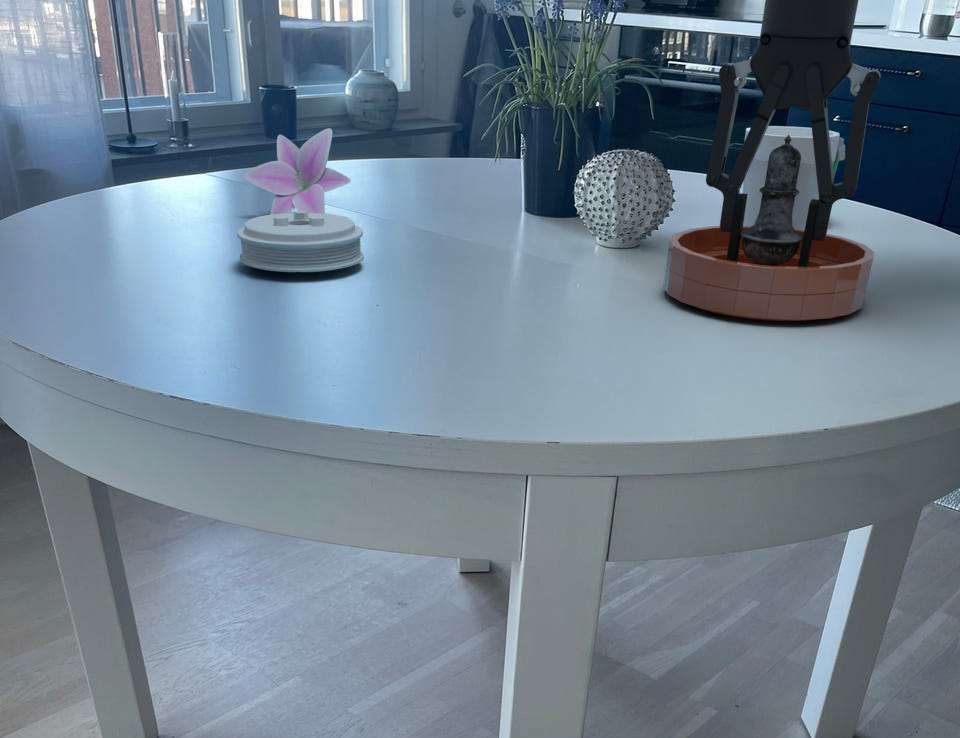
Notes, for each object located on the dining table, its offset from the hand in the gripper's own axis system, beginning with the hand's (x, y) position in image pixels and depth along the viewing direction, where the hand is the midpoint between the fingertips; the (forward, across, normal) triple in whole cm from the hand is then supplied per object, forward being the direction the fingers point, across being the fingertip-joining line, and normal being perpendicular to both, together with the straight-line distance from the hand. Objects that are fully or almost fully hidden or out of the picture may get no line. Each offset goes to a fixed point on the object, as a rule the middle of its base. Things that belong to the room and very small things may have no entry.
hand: (765, 271), depth 97 cm
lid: (+3, -46, -7) cm, 47 cm away
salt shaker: (0, 0, 0) cm, 0 cm away
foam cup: (+3, -1, +16) cm, 16 cm away
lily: (+3, -58, +15) cm, 60 cm away
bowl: (+3, 0, 0) cm, 3 cm away
